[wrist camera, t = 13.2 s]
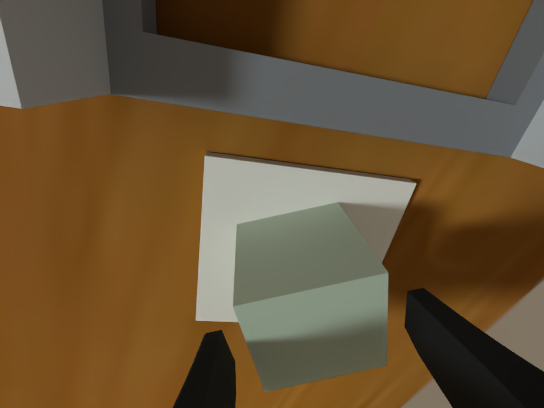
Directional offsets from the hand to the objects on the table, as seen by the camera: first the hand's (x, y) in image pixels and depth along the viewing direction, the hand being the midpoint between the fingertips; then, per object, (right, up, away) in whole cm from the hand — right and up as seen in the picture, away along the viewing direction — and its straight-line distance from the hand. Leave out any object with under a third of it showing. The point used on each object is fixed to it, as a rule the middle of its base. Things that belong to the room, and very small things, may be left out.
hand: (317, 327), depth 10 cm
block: (-1, +2, +4) cm, 4 cm away
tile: (-1, +2, +4) cm, 5 cm away
